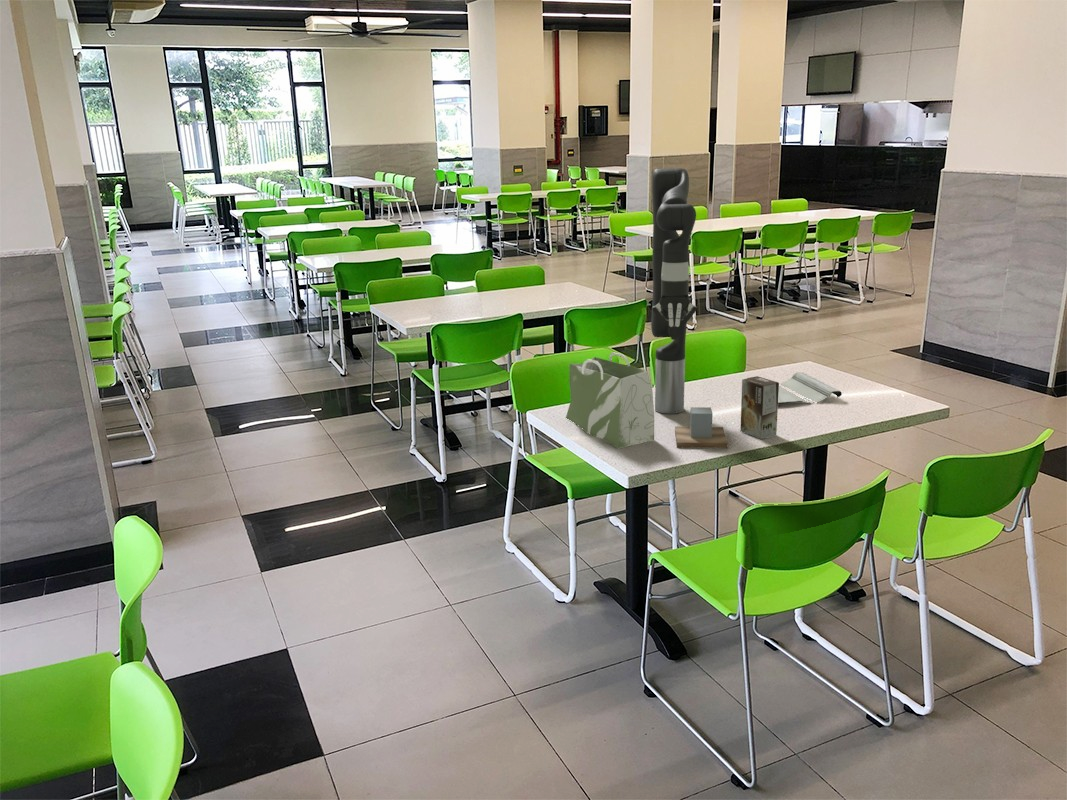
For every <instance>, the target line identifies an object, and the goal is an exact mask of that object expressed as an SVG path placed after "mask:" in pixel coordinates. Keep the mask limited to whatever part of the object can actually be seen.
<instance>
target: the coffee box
mask: <svg viewBox="0 0 1067 800" xmlns="http://www.w3.org/2000/svg"><path fill="white" fill-rule="evenodd" d="M779 384H780V382H778V381H775V380H772V379H768V378H765V377H762V376H758V375H757V376H751V377H747V378H744V379H742V380H741V403H740V405H741V407H740V429H739V430H740V432H741V431H742V432H741V433H744V432H745V433H744V434H746V433H747V435H749V434H750V435H749V436H752V437H755V438H758V439H759V440H764V439H768V438H772V437H776V436H777V433H778V432H777V428H778V409H779V404H778V393H779Z"/></svg>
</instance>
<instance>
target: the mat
mask: <svg viewBox="0 0 1067 800" xmlns="http://www.w3.org/2000/svg"><path fill="white" fill-rule="evenodd" d="M780 384H781V385H782V386H784V387H787V388H789V389H791V390H792V391H795V392H796V393H798V394H800V395H802V396H804V397H806V398H808V399H811V400H812V401H815V402H817V404H819V403H820V402H823V401H825V400H826V399H828V397H829V396H831V395H832V394H833V395H835V396H836V398H840V397H841V396H842V394H843V393H842V392H841V391H840V390H839V389H837V388H835V387H833V386H831V385H829V384H827V383H825V382H823V381H821V380H819V379H817V378H815V377H813V376H811V375H809V374H807V373H805V372H803V371H802V372H795V373H794V374H792V376H791V377H790V378H789V379H787V380H785V381H783V382H781V383H780ZM805 400H806V399H805ZM805 400H804V398H803V399H802V398H800V397H798V396H796V395H795V394H793V393H791V392H789V391H787V390H786V389H784V388H782V387H781V386H779V393H778V405H781V404H783V405H784V404H791V403H792V404H793V403H803V404H807V405H812V404H811V403H812V402H810V401H808V400H806V401H805ZM807 401H808V402H807ZM809 402H810V403H809Z"/></svg>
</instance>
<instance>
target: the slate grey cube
mask: <svg viewBox="0 0 1067 800" xmlns="http://www.w3.org/2000/svg"><path fill="white" fill-rule="evenodd" d="M689 414H690V416H689V417H690V418H689V427H690V435H691V438H712V427H713V411H712V407H709V406H708V407H707V406H705V407H704V406H703V407H702V406H701V407H699V406H698V407H697V406H695V407H694V406H691V407H690V413H689Z"/></svg>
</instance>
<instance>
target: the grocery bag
mask: <svg viewBox="0 0 1067 800" xmlns="http://www.w3.org/2000/svg"><path fill="white" fill-rule="evenodd" d="M614 356H619V357H620V358H622V359H623V360H624V361H625V362H626V364H623V363H619V362H616V361H612V360H613V359H612V358H613V357H614ZM608 359H609V360H607V359H604V358H600V357H596V356H594V357H593V358H591V359H590V358H587V359H585V360H584V362H583V363H569V365H568V366H569V367H568V369H569V371H568V374H569V375H568V376H569V377H568V379H569V380H568V381H569V389H570V391H569V393H570V403H569V406H568V410H567V412H566V416H565V419H566V418H567V419H569V420H571V421H572V422H574V423H575V424H574V423H573V424H574V425H576V424H577V425H579V426H580V427H581V428H583V429H584V430H585V431H586V432H585V431H584V430H583V429H582V430H583V431H584V432H585V433H587V432H588V433H590V434H589V435H591V434H592V435H591V436H593V435H594V437H595V436H597V437H596V438H598V437H599V438H598V439H600V438H601V440H603V441H605V442H607V443H609V444H610V445H612V446H613V445H614V446H613V447H615V448H616V449H618V448H619V449H622V447H623V448H626V447H629V446H630V447H631V446H634V445H638V444H642V443H648V442H653V441H655V404H654V394H653V393H654V392H653V387H652V383H651V379H650V374H649V371H648V370H645V369H642V368H639V367H635V366H634V365H631V363H630V361H629V360H628V358H627V356H625V355H624V354H623V353H619V352H614V351H613V352H610V354H609V358H608ZM567 419H566V420H567ZM569 420H568V421H569ZM571 421H570V422H571ZM572 422H571V423H572ZM577 425H576V426H577ZM579 426H578V427H579ZM580 427H579V428H580ZM581 428H580V429H581ZM588 433H587V434H588ZM652 440H653V441H652ZM647 441H648V442H647Z"/></svg>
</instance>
